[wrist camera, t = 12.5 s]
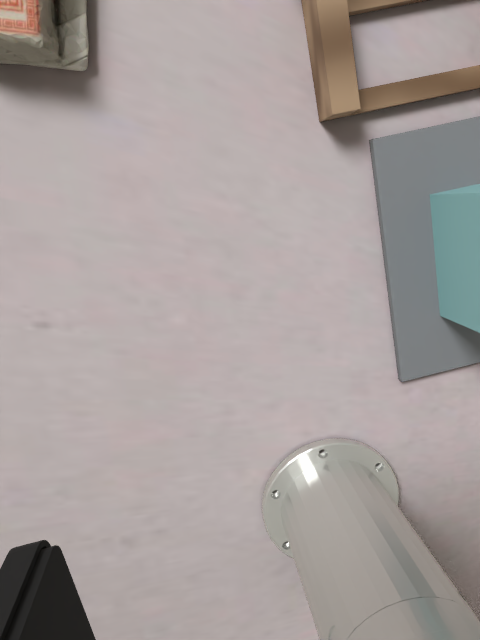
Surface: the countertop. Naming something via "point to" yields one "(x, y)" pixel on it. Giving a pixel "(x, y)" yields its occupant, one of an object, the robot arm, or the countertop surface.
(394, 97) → the frame
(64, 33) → the packaged product
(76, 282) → the countertop surface
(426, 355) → the mat
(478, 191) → the block
